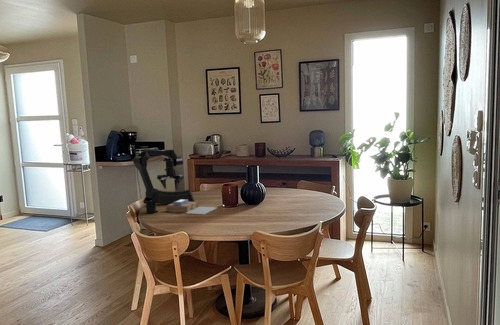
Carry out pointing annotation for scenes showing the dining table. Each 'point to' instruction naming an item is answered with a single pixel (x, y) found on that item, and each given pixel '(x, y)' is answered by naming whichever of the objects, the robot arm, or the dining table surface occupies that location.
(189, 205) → the board
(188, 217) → the dining table surface
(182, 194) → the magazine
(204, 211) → the mat
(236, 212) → the dining table surface
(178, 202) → the card box
